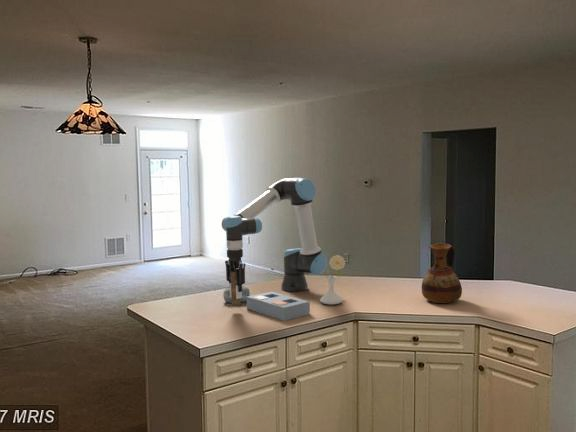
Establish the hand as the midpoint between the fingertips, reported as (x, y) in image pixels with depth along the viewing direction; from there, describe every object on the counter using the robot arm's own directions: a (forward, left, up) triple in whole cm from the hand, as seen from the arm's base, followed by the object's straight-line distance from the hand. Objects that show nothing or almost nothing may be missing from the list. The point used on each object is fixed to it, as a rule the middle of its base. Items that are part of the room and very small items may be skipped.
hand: (236, 297), depth 244 cm
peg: (0, 0, -4) cm, 4 cm away
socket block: (+12, +16, -7) cm, 21 cm away
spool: (-16, +12, -8) cm, 21 cm away
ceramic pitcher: (+54, +91, -8) cm, 106 cm away
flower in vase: (+20, +46, -8) cm, 50 cm away
